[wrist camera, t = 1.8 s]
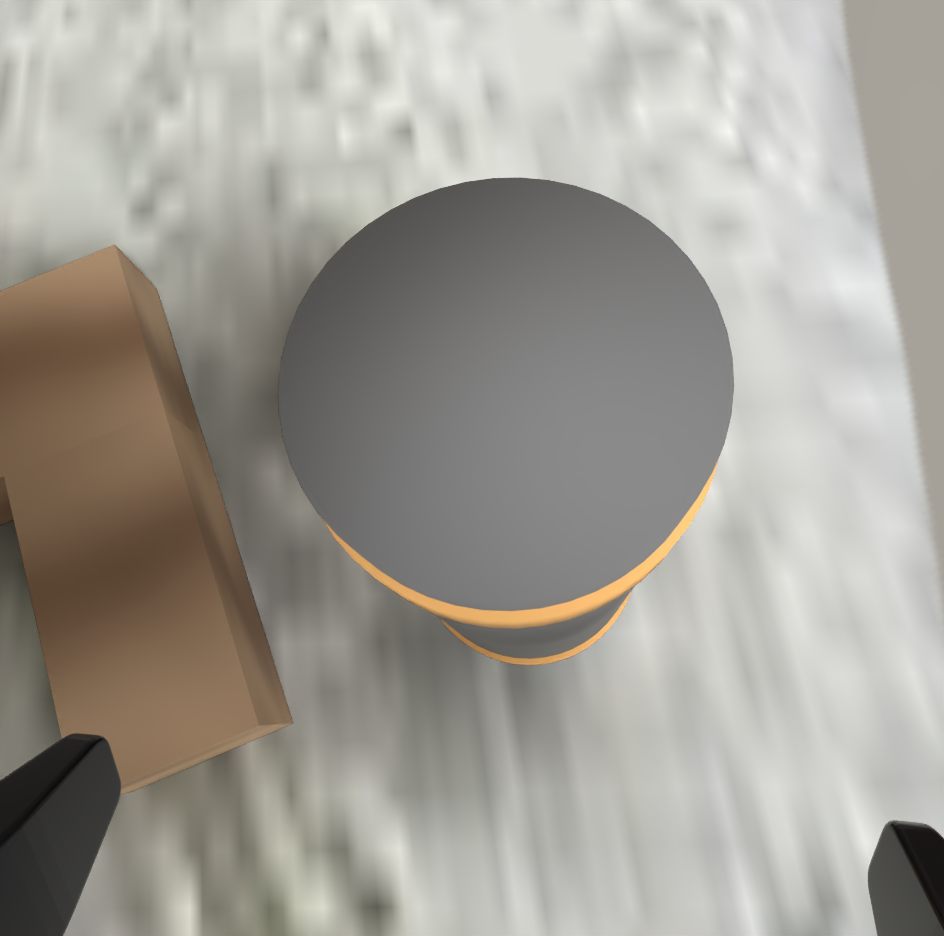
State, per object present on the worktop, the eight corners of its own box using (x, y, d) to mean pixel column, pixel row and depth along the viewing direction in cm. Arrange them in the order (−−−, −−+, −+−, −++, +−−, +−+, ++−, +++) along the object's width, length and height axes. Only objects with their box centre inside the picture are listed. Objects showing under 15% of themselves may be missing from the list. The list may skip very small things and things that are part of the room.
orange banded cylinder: (606, 690, 20) (700, 665, 8) (411, 641, 21) (206, 546, 8) (644, 496, 21) (775, 206, 9) (459, 458, 22) (343, 143, 10)
